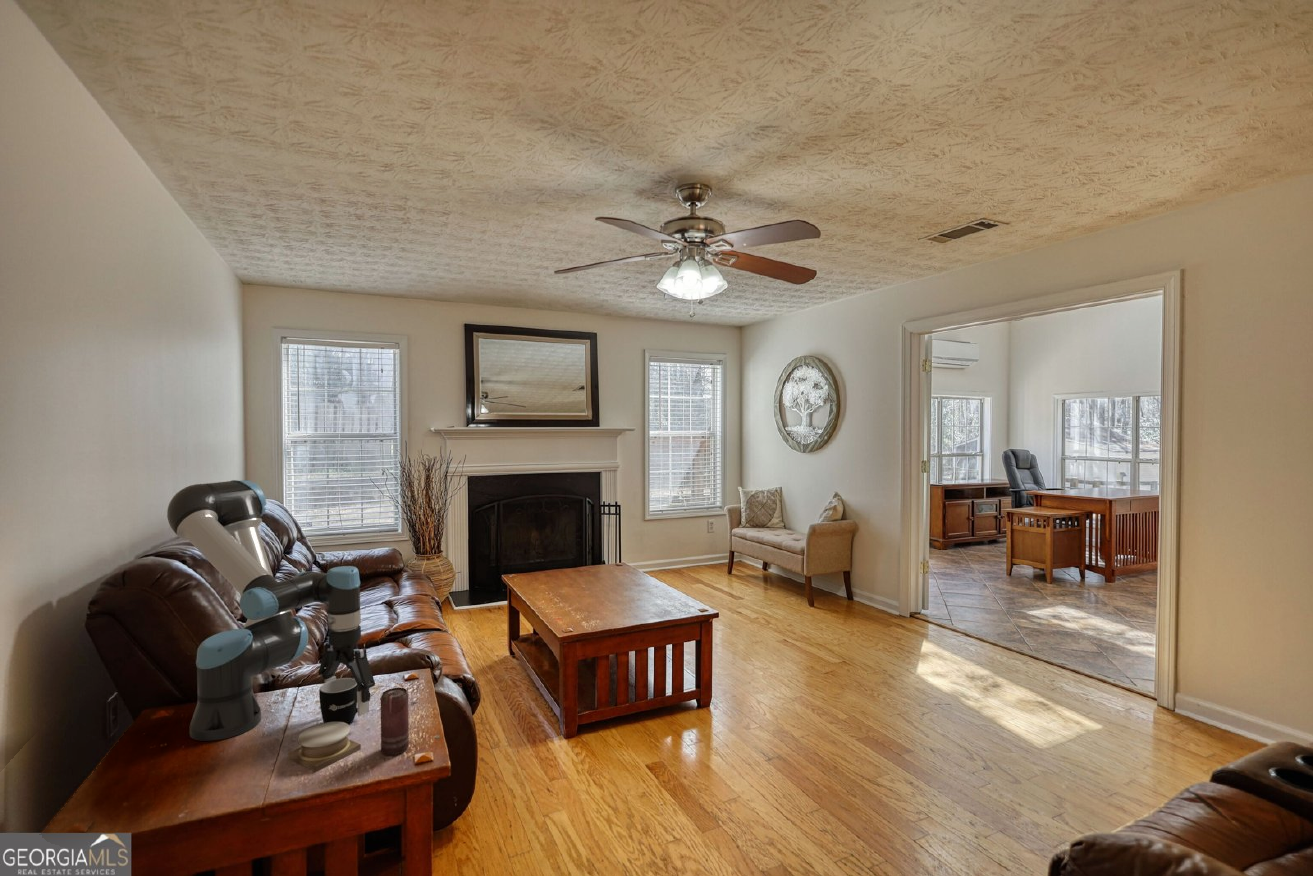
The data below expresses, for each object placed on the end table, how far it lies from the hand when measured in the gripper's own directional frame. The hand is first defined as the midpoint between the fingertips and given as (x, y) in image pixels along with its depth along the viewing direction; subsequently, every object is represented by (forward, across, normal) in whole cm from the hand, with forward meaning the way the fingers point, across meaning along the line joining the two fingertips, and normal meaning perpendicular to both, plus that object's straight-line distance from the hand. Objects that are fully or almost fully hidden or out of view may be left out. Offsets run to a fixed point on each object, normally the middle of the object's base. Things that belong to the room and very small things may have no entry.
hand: (346, 708), depth 163 cm
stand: (+4, +10, -12) cm, 16 cm away
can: (+4, +22, -3) cm, 23 cm away
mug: (+4, 0, 0) cm, 4 cm away
